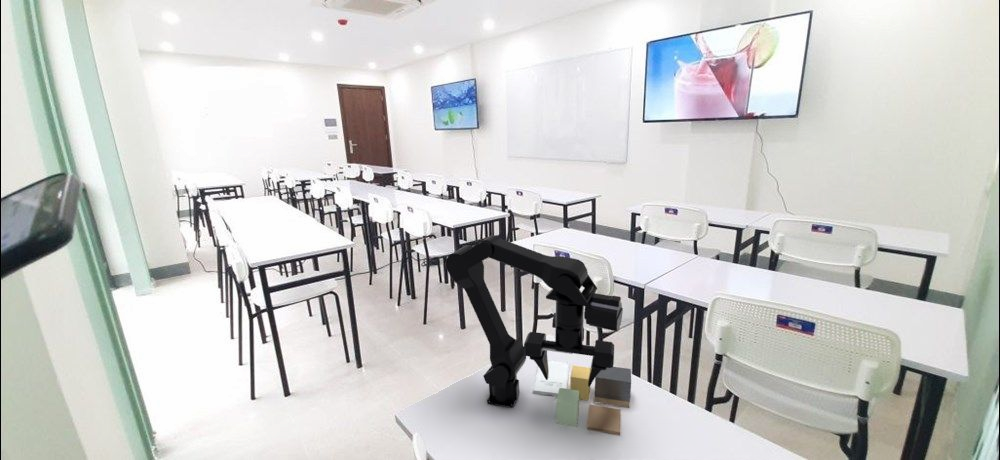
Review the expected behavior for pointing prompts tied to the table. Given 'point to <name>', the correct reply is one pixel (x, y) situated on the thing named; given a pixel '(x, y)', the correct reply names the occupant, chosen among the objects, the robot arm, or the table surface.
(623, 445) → the table surface
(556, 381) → the external hard drive
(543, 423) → the table surface
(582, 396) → the ochre part
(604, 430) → the walnut pad
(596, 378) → the block
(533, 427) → the table surface
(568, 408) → the green part
